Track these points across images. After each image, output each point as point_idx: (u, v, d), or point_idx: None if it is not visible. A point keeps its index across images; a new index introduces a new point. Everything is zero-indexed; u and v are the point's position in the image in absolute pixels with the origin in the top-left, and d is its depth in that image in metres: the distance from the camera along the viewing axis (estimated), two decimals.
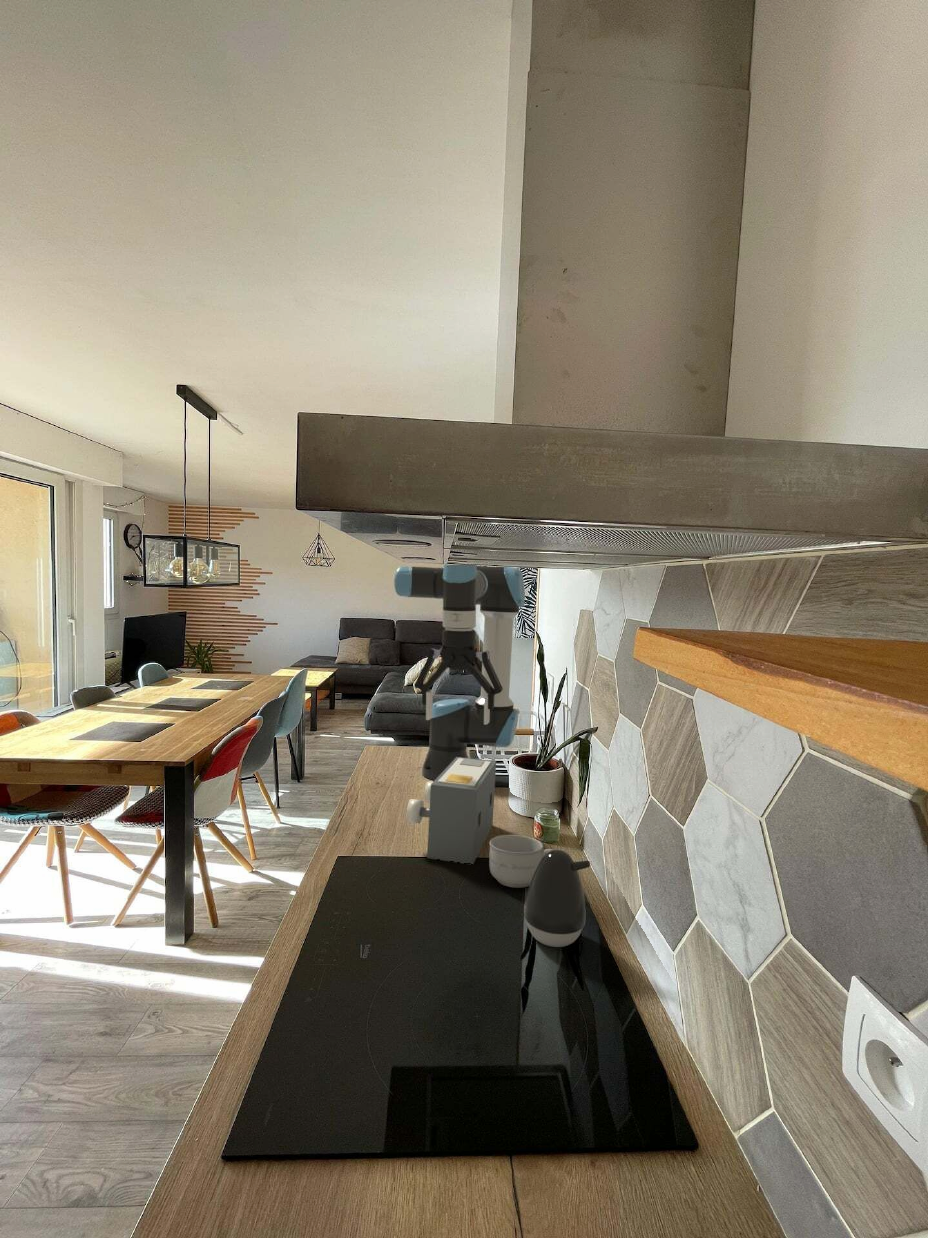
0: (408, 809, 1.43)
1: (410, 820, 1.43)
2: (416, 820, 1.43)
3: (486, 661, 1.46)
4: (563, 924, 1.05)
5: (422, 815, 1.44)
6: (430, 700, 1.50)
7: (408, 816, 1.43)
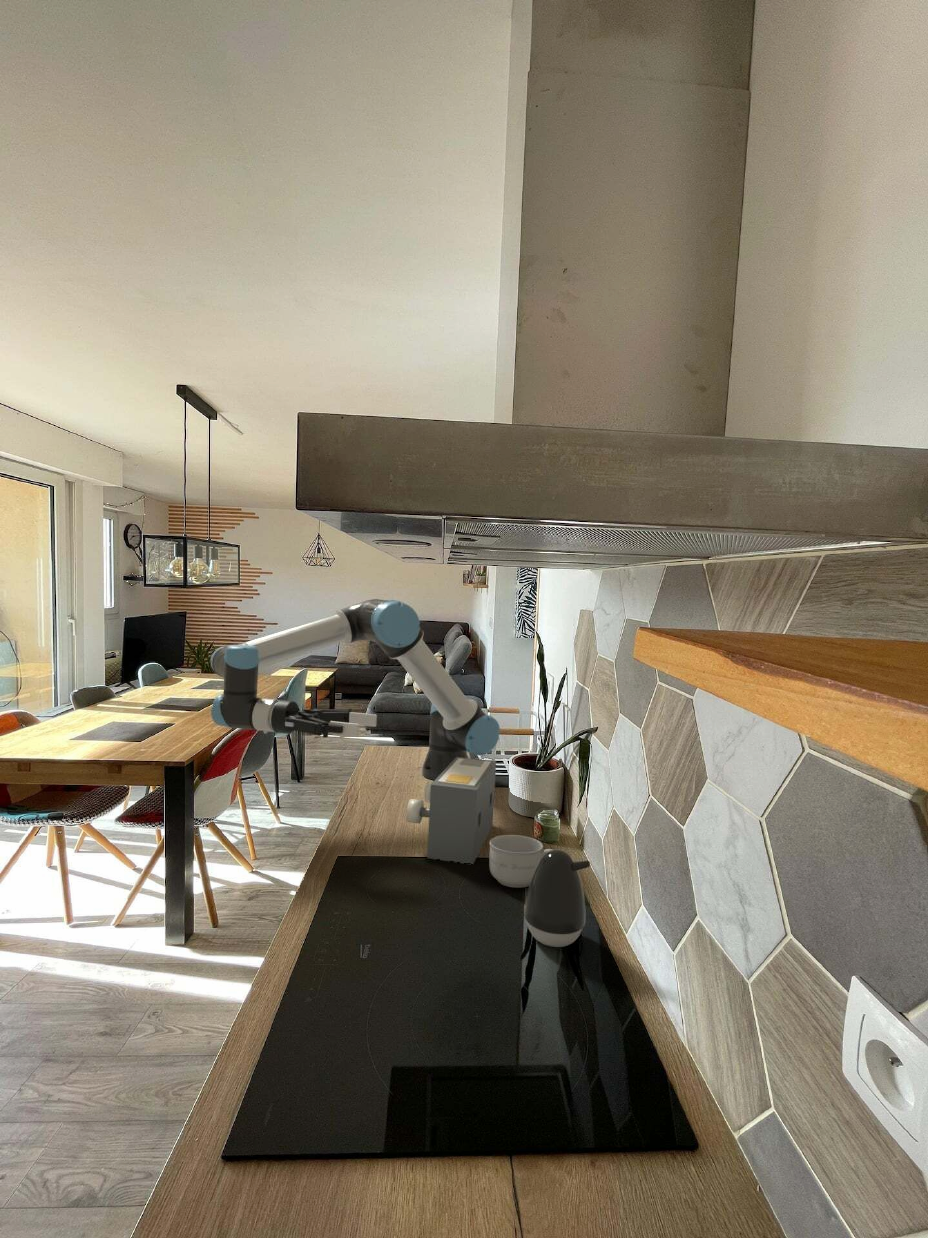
0: (408, 809, 1.43)
1: (410, 820, 1.43)
2: (416, 820, 1.43)
3: None
4: (563, 924, 1.05)
5: (422, 815, 1.44)
6: (357, 721, 1.53)
7: (408, 816, 1.43)
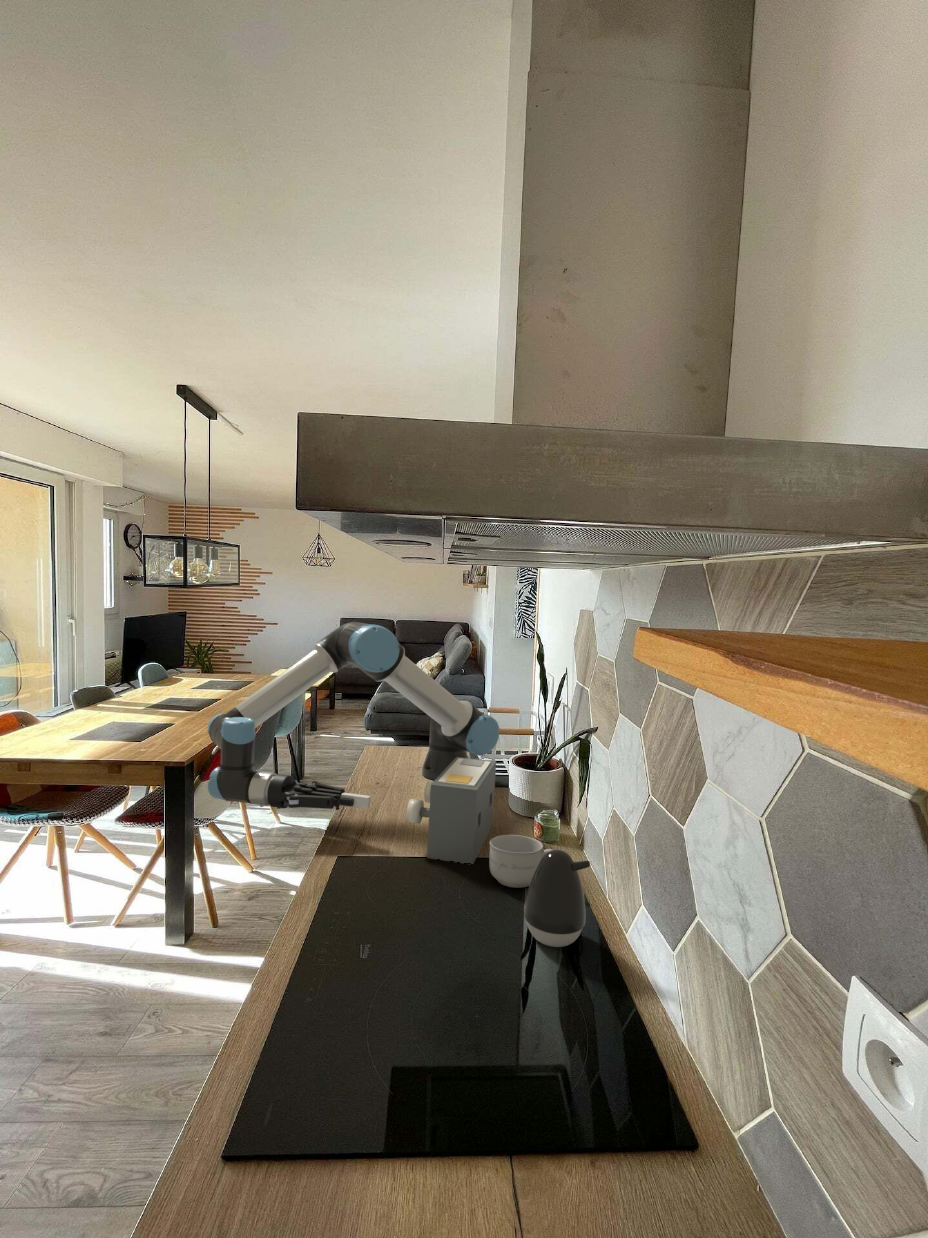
0: (408, 809, 1.43)
1: (410, 820, 1.43)
2: (416, 820, 1.43)
3: None
4: (563, 924, 1.05)
5: (422, 815, 1.44)
6: None
7: (408, 816, 1.43)
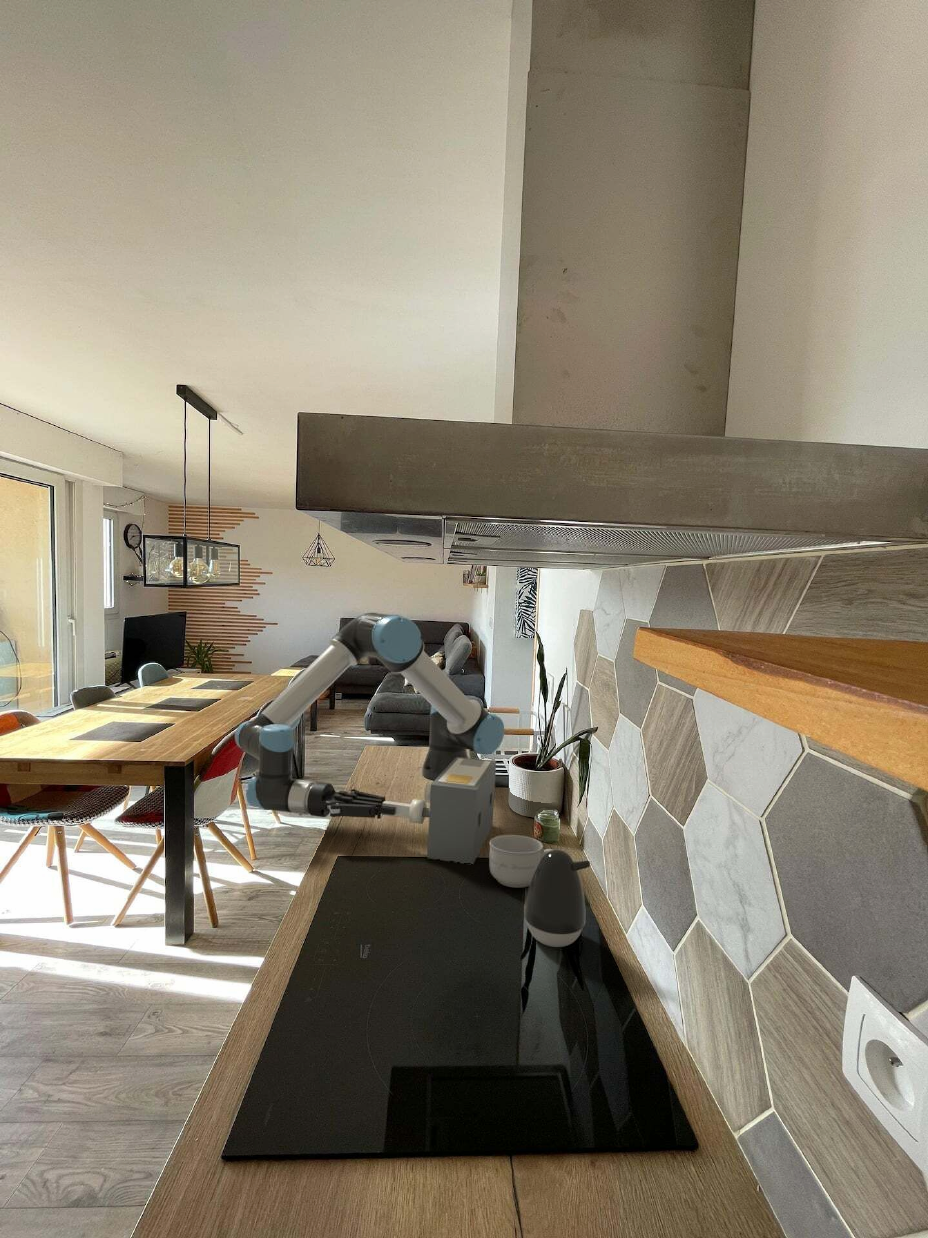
0: (411, 809, 1.43)
1: (413, 820, 1.43)
2: (419, 820, 1.43)
3: None
4: (563, 924, 1.05)
5: (425, 815, 1.44)
6: None
7: (411, 816, 1.43)
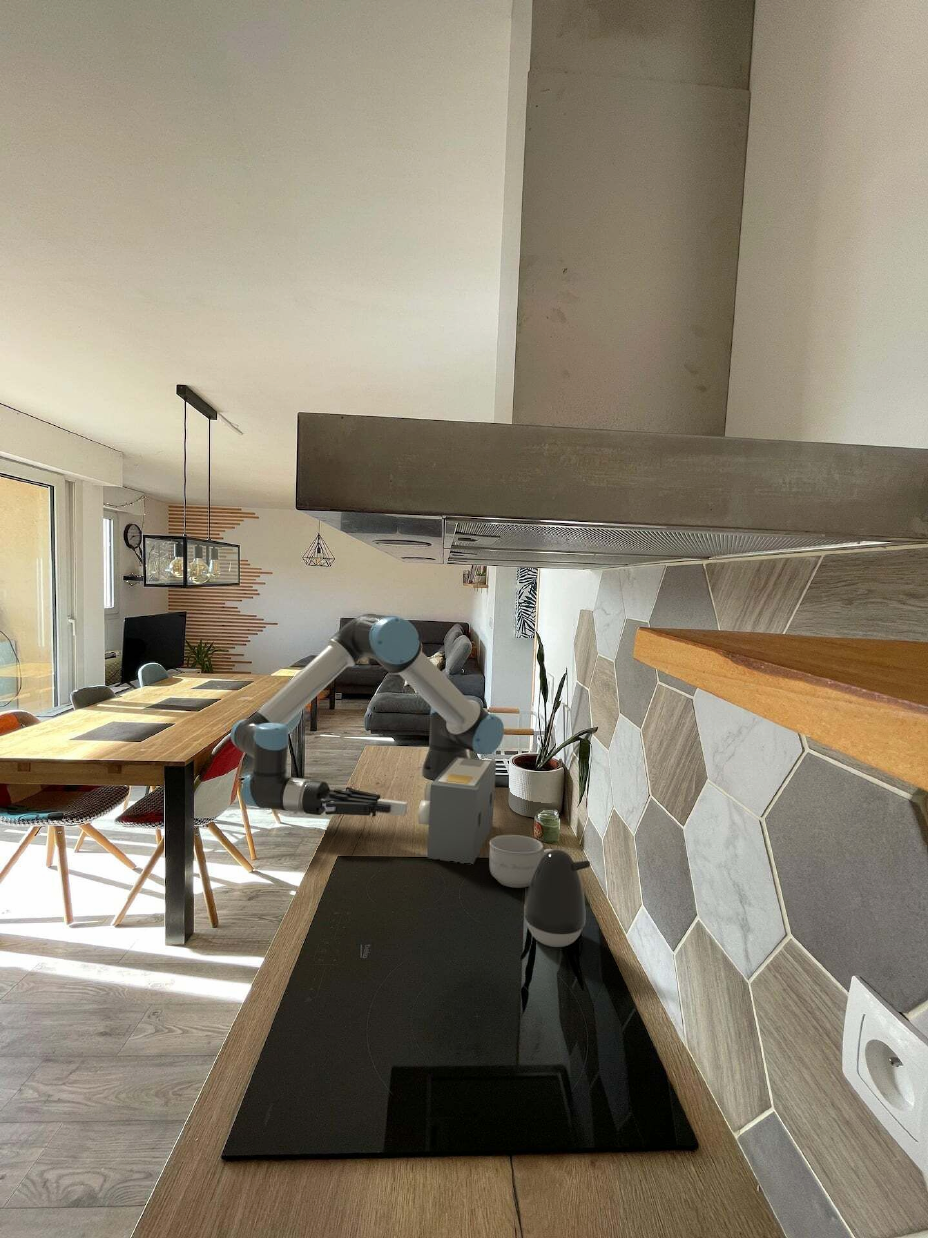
0: (419, 810, 1.42)
1: (421, 822, 1.43)
2: (428, 822, 1.42)
3: None
4: (563, 924, 1.05)
5: None
6: None
7: (419, 818, 1.42)
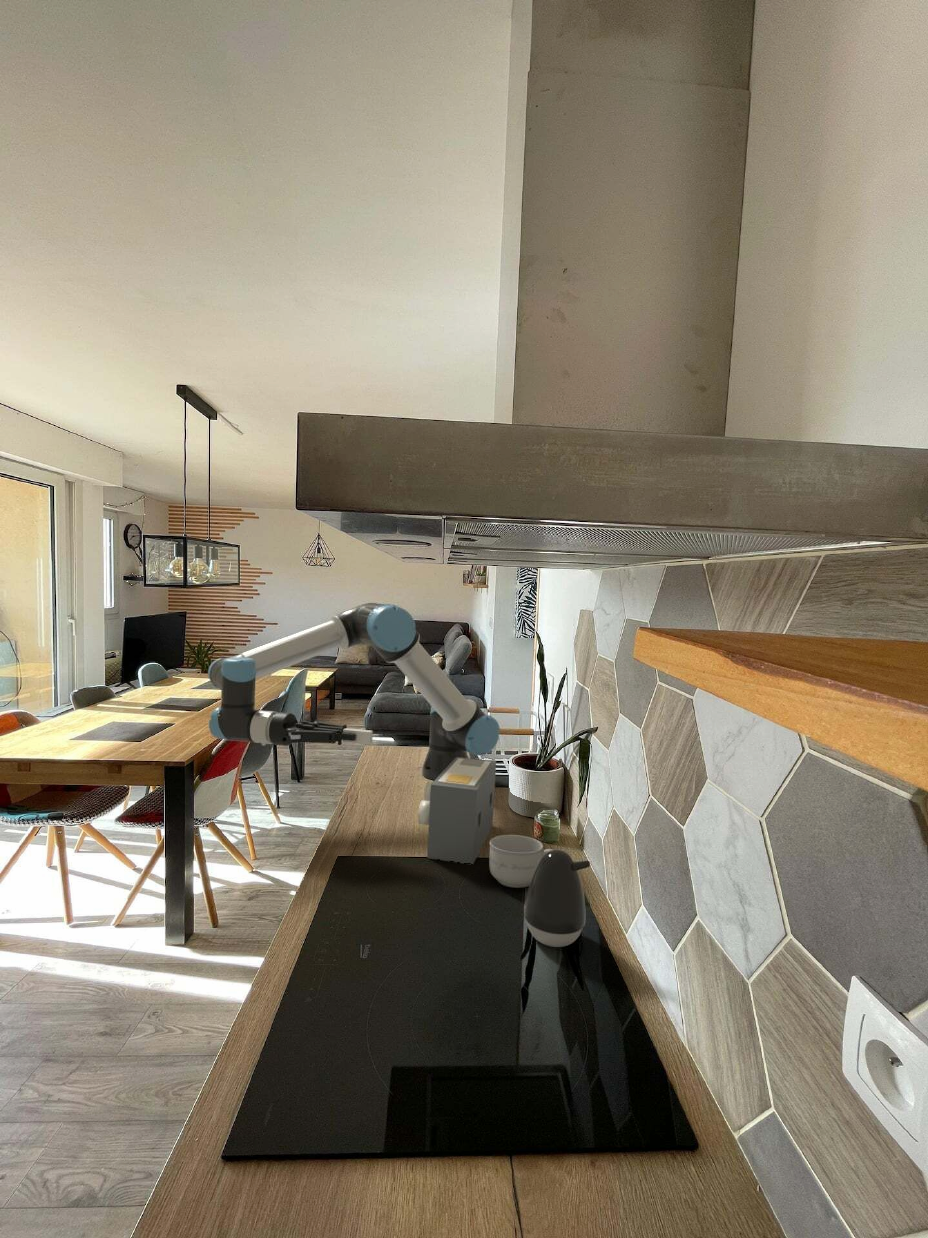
0: (419, 810, 1.42)
1: (421, 822, 1.43)
2: (428, 822, 1.42)
3: None
4: (563, 924, 1.05)
5: None
6: None
7: (419, 818, 1.42)
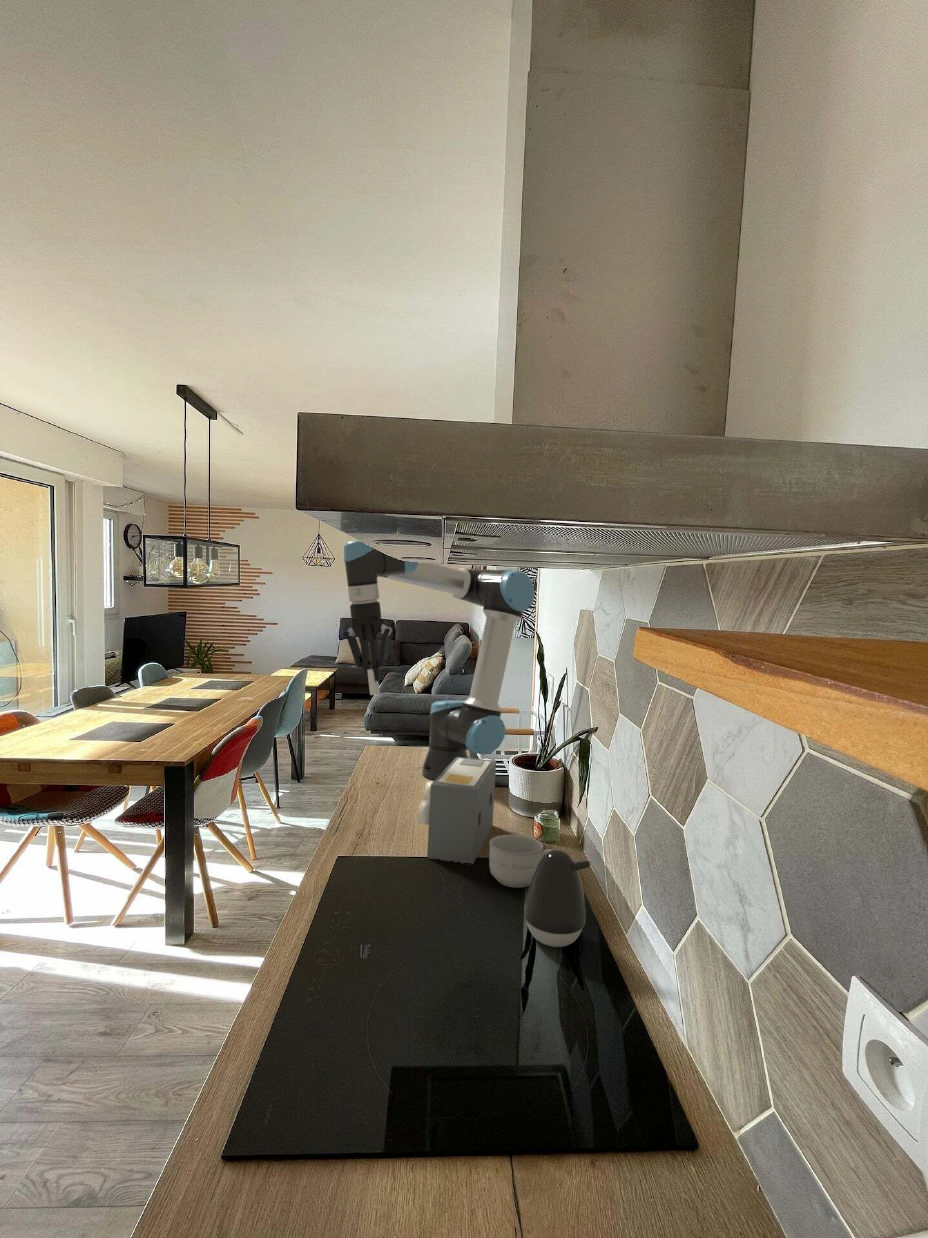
0: (419, 810, 1.42)
1: (421, 822, 1.43)
2: (428, 822, 1.42)
3: (385, 636, 1.63)
4: (563, 924, 1.05)
5: None
6: None
7: (419, 818, 1.42)
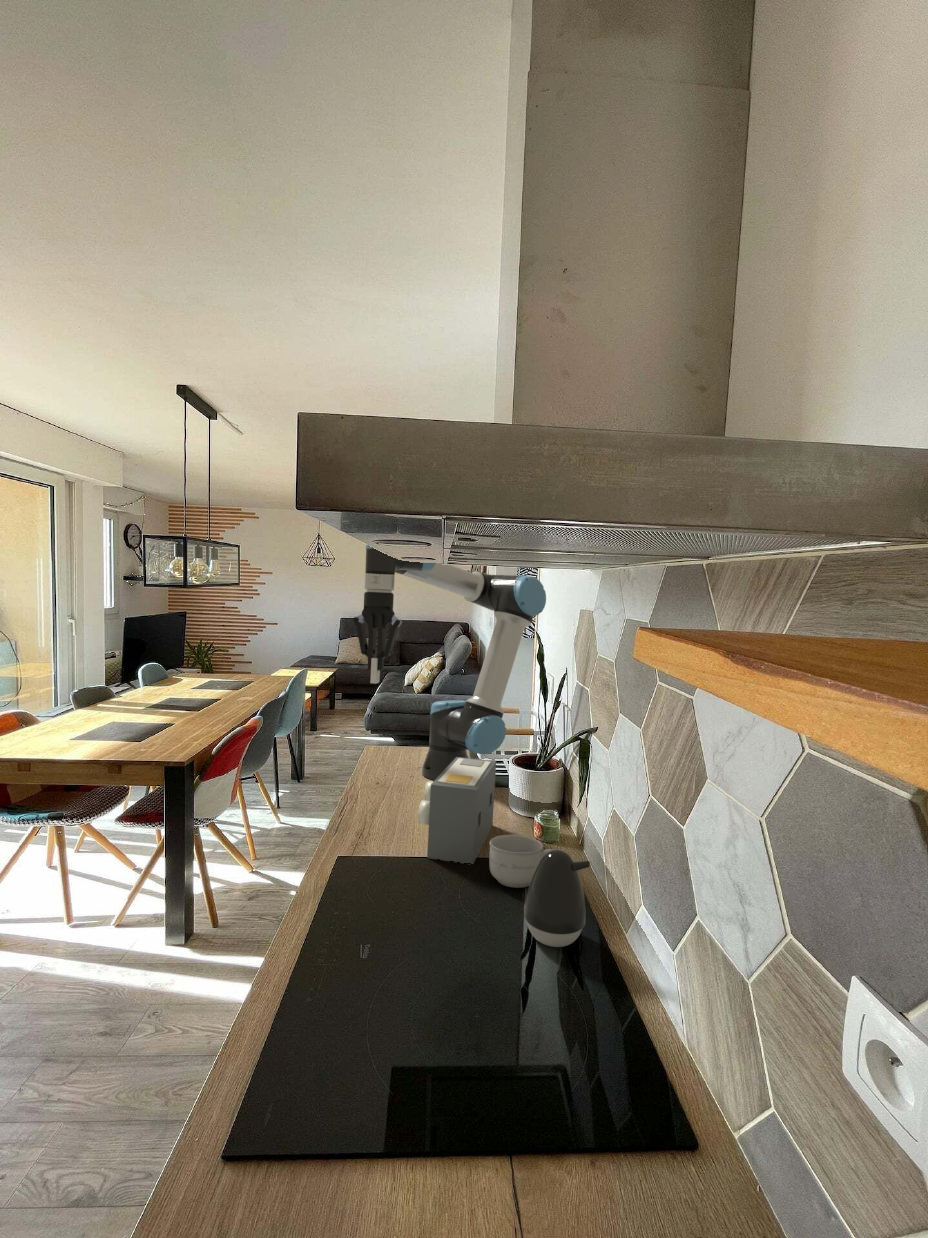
0: (419, 810, 1.42)
1: (421, 822, 1.43)
2: (428, 822, 1.42)
3: (395, 627, 1.65)
4: (563, 924, 1.05)
5: None
6: None
7: (419, 818, 1.42)
